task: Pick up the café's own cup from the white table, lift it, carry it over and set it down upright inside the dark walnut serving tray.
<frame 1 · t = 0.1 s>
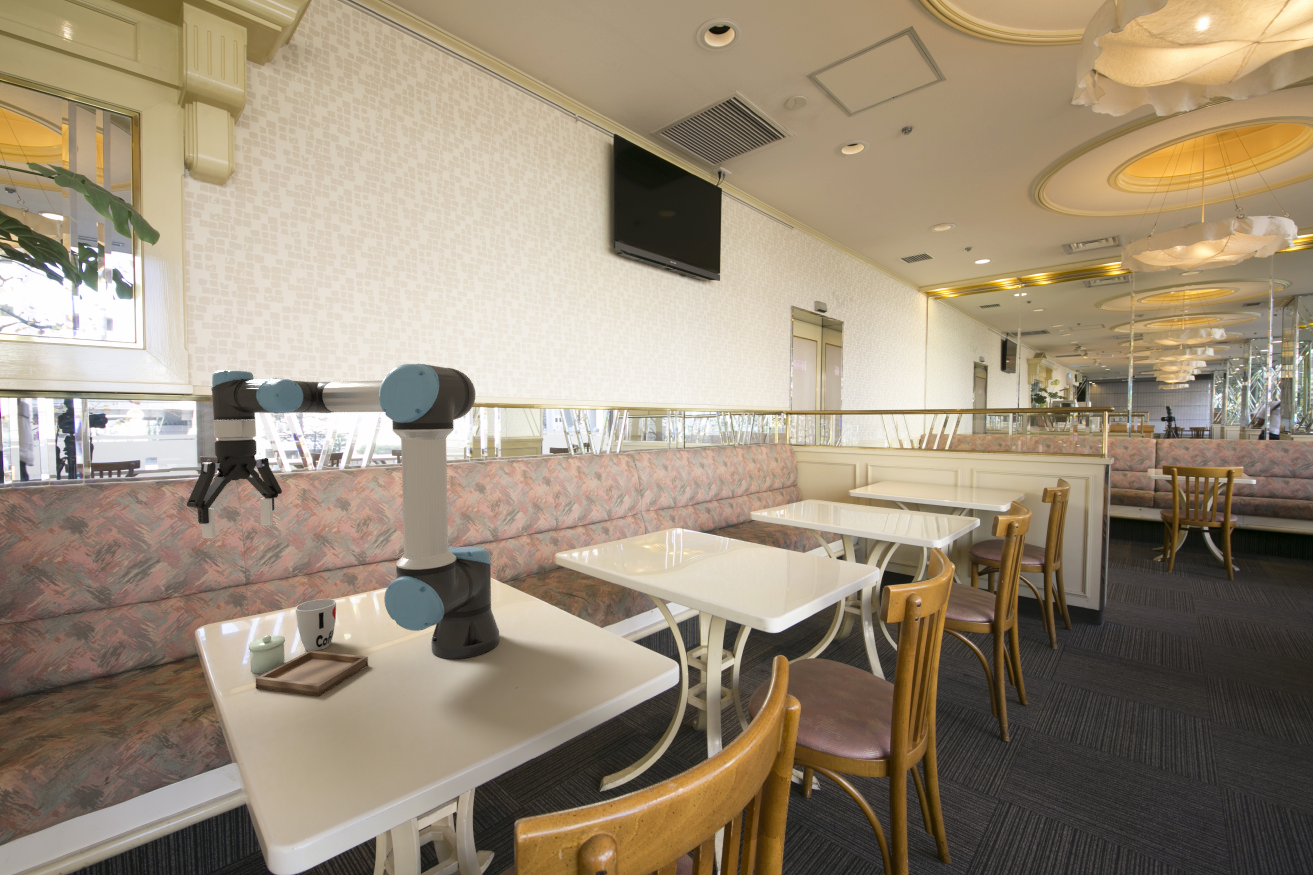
hand: (239, 531, 125), 28 cm above the table, fingers open, 13 cm apart
sugar pot: (268, 666, 118), on the table
cup: (317, 647, 128), on the table
tray: (314, 676, 114), on the table
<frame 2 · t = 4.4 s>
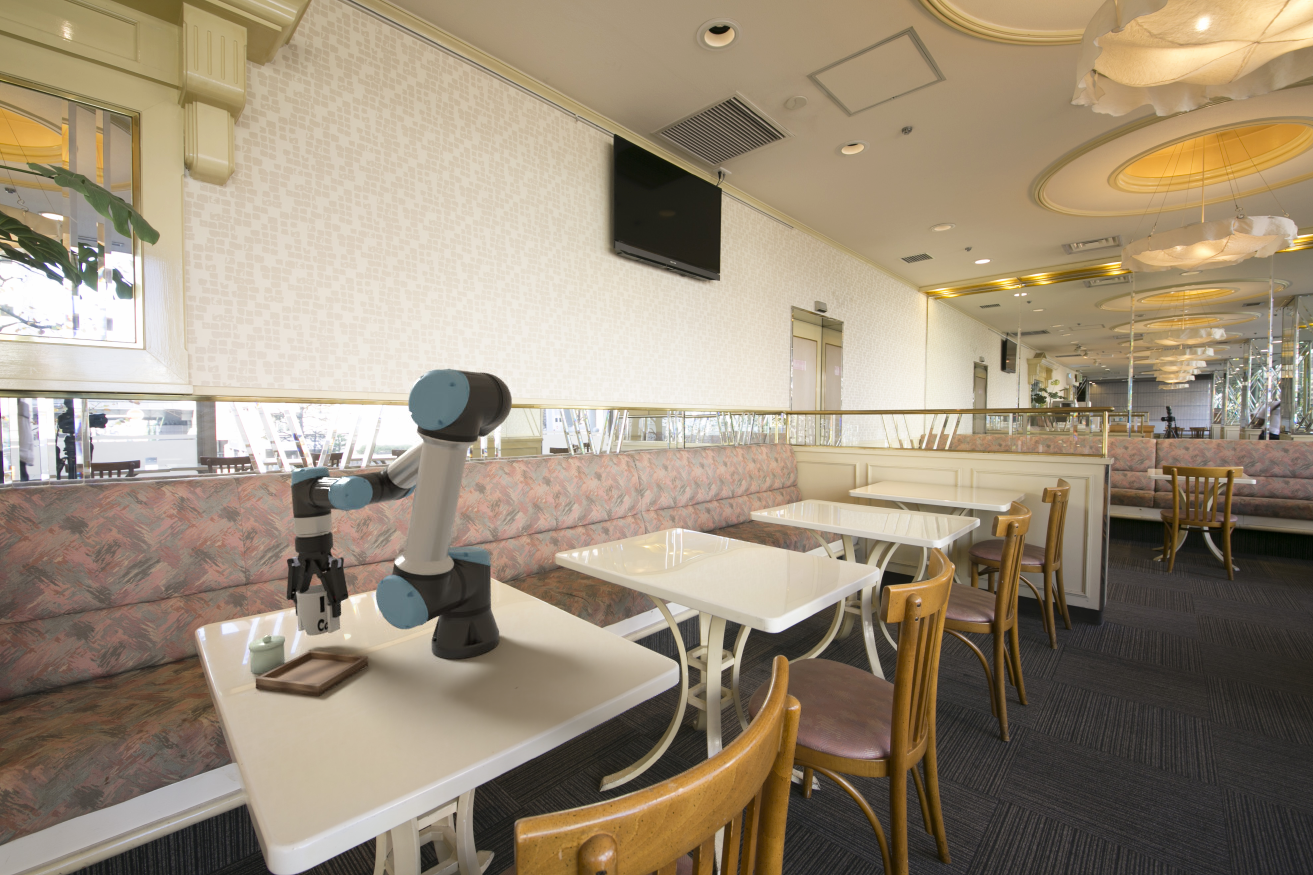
hand: (319, 629, 128), 4 cm above the table, fingers closed on cup, 8 cm apart
cup: (319, 631, 128), point 4 cm above the table, touching gripper
everything else where it was.
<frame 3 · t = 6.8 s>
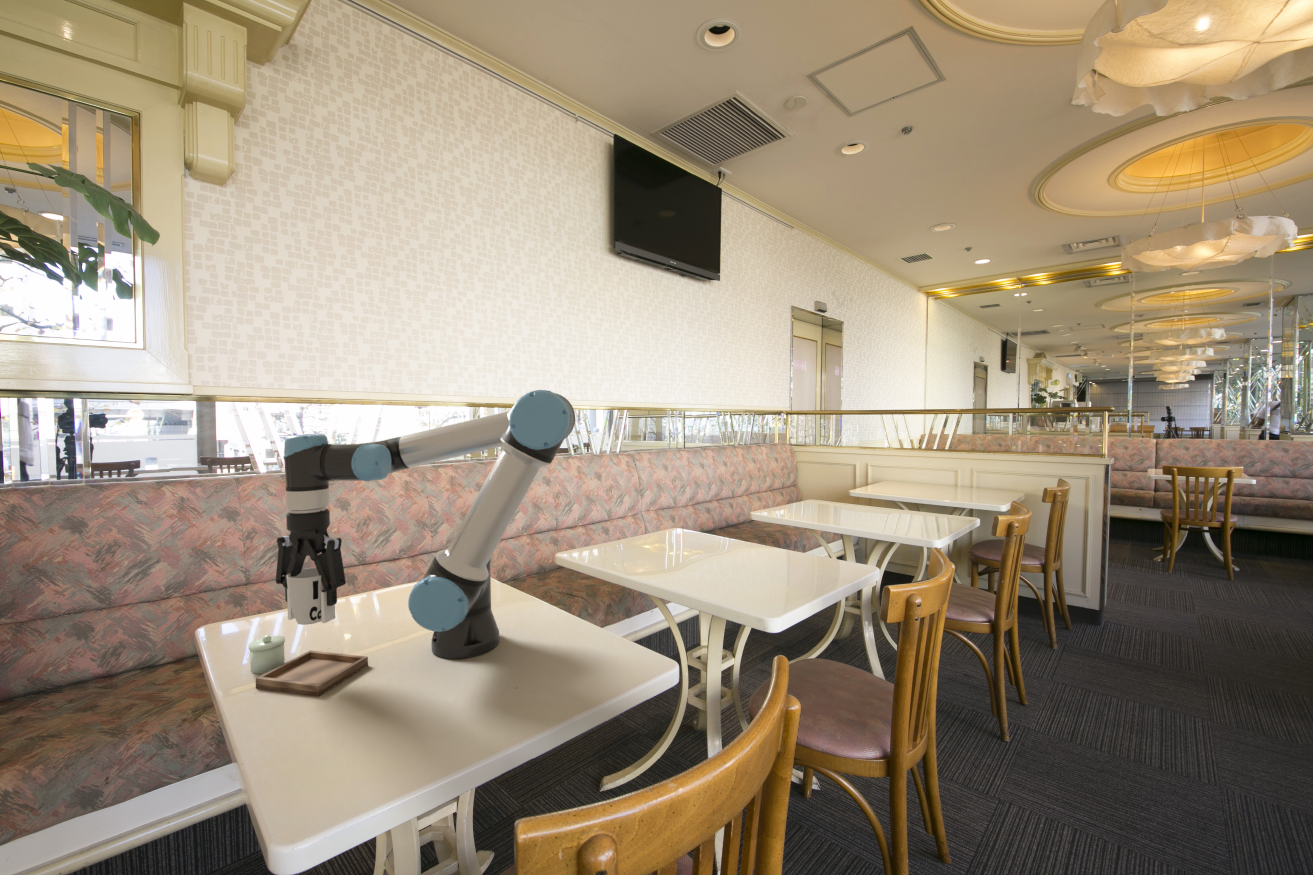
hand: (311, 618, 113), 12 cm above the table, fingers closed on cup, 8 cm apart
cup: (311, 620, 113), point 12 cm above the table, touching gripper
everything else where it was.
when the fingers open (1 cm above the table, at t = 9.4 s): cup stays where it is, resting on tray.
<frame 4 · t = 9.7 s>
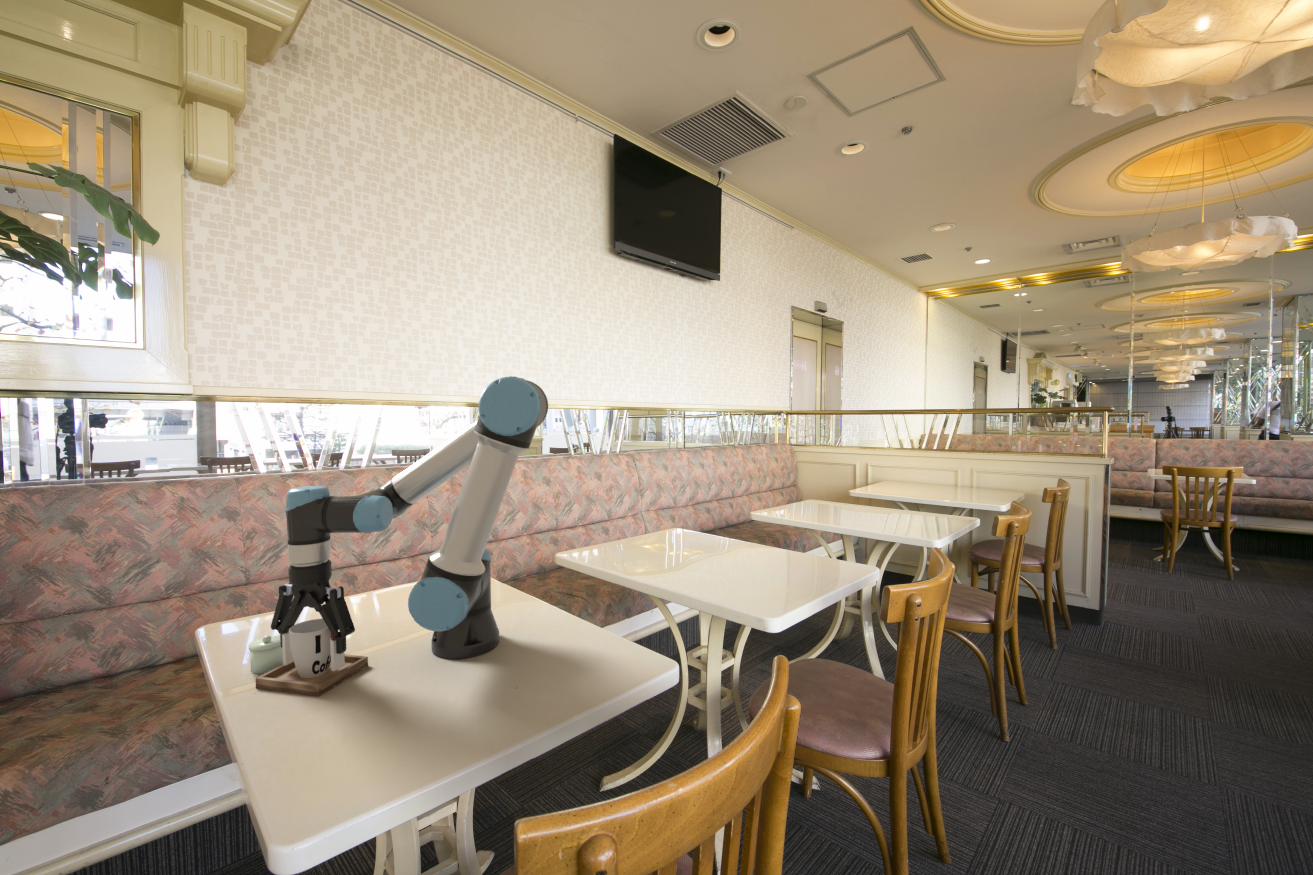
hand: (313, 665, 113), 2 cm above the table, fingers open, 11 cm apart
cup: (314, 673, 114), point 1 cm above the table, touching tray
everything else where it was.
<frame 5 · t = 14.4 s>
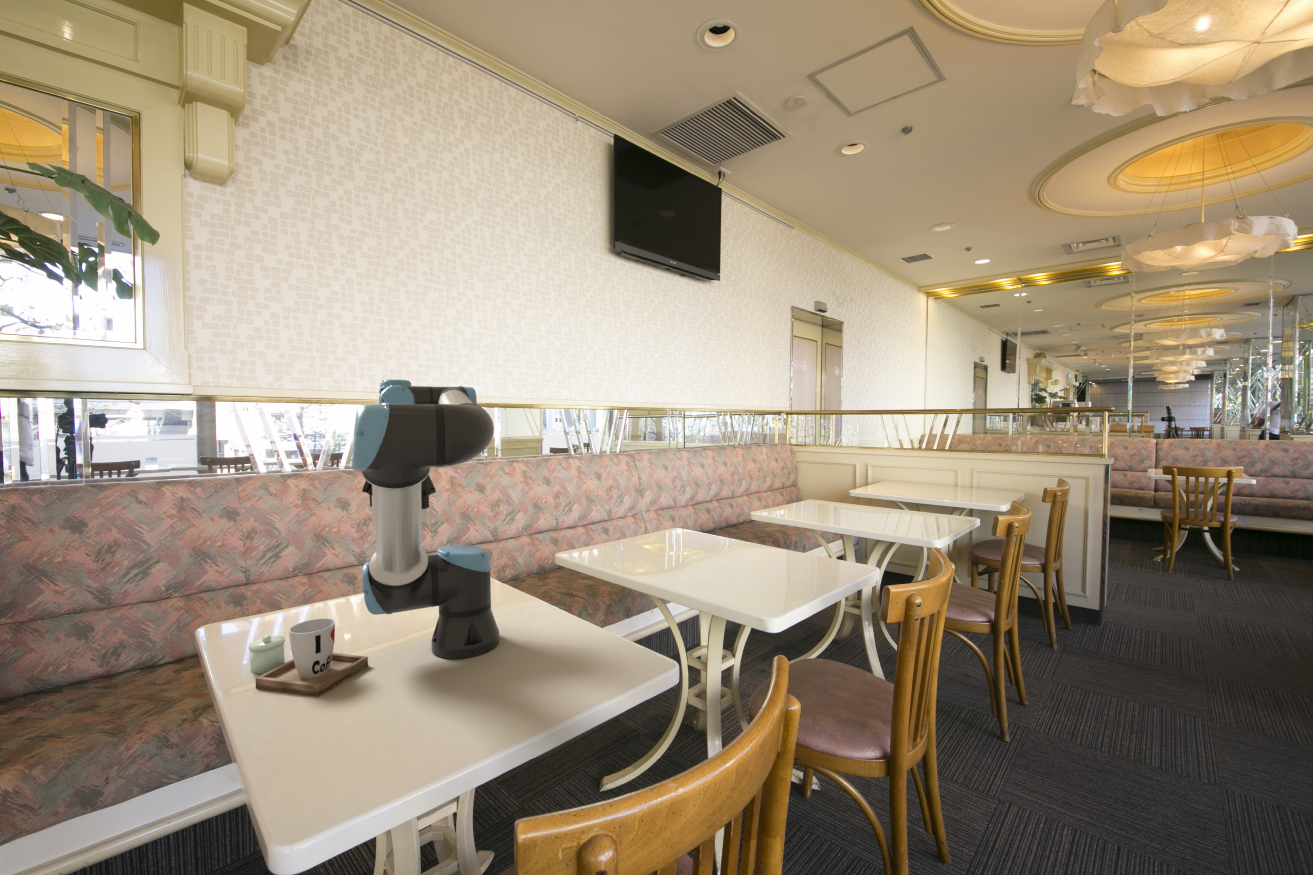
hand: (399, 520, 143), 27 cm above the table, fingers open, 13 cm apart
nothing on the table moved.
at the end: cup inside the target area on the tray (0.0 cm from its centre), point 0.6 cm above the tray's base; cup tilted 0°; the gripper is holding nothing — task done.
